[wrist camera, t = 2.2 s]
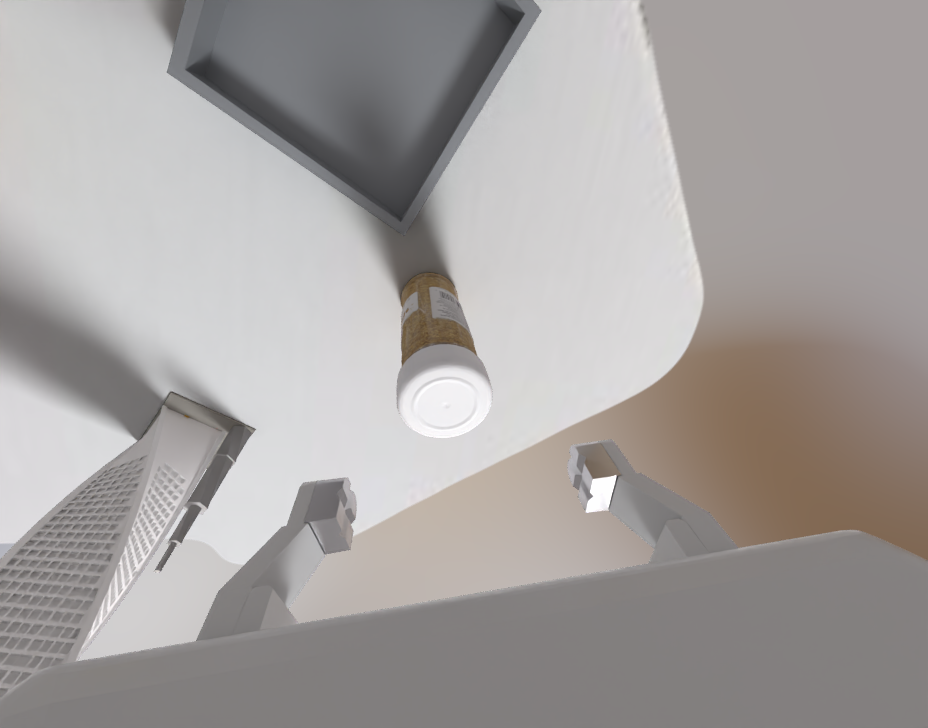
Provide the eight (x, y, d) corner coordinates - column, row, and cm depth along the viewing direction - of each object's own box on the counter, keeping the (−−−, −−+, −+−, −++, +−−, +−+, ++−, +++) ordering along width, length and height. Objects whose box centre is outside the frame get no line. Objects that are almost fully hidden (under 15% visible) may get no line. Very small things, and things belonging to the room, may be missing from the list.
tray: (194, 81, 18) (166, 72, 16) (292, -251, 14) (271, -325, 12) (404, 228, 24) (404, 236, 22) (526, 26, 19) (541, 10, 17)
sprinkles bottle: (389, 288, 26) (375, 392, 15) (442, 260, 25) (469, 346, 14) (419, 334, 28) (426, 455, 17) (467, 310, 28) (509, 417, 16)
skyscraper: (214, 478, 34) (-221, 1213, 10) (120, 443, 30) (-884, 1459, 7) (256, 427, 31) (-195, 1247, 8) (158, 383, 28) (-1235, 1671, 4)
